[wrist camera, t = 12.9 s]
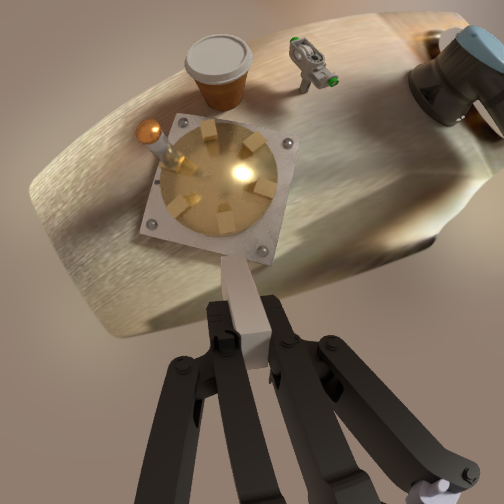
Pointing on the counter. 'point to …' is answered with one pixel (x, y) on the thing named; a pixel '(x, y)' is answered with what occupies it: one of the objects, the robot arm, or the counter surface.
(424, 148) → the counter surface
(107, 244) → the counter surface
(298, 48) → the mechanical component
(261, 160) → the brass turntable plate
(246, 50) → the disposable coffee cup
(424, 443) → the robot arm
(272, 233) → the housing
